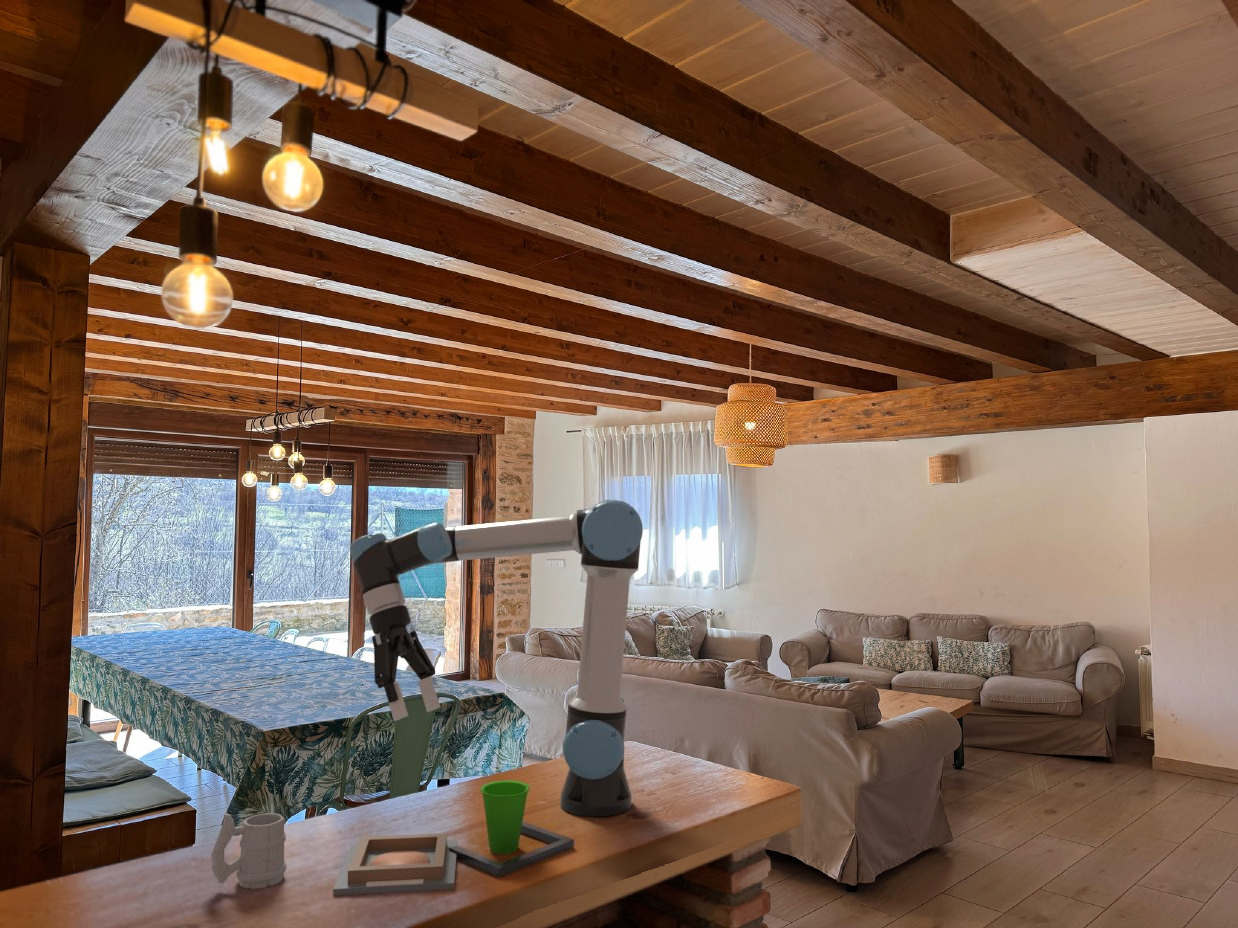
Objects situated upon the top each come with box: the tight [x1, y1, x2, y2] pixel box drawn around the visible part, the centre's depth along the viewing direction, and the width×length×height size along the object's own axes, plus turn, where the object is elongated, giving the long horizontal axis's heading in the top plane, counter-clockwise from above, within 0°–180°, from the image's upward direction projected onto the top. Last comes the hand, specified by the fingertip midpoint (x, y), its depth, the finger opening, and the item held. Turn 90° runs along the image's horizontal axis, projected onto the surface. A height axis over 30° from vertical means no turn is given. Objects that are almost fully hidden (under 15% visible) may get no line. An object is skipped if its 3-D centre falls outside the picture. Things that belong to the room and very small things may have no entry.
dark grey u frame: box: [449, 821, 575, 878], centre depth 156 cm, size 14×18×2 cm
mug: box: [210, 812, 288, 890], centre depth 141 cm, size 8×12×12 cm, turn 131°
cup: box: [480, 780, 531, 855], centre depth 157 cm, size 9×9×11 cm
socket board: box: [332, 832, 458, 896], centre depth 147 cm, size 19×19×3 cm
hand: (418, 714), depth 166 cm, fingers open, 13 cm apart
